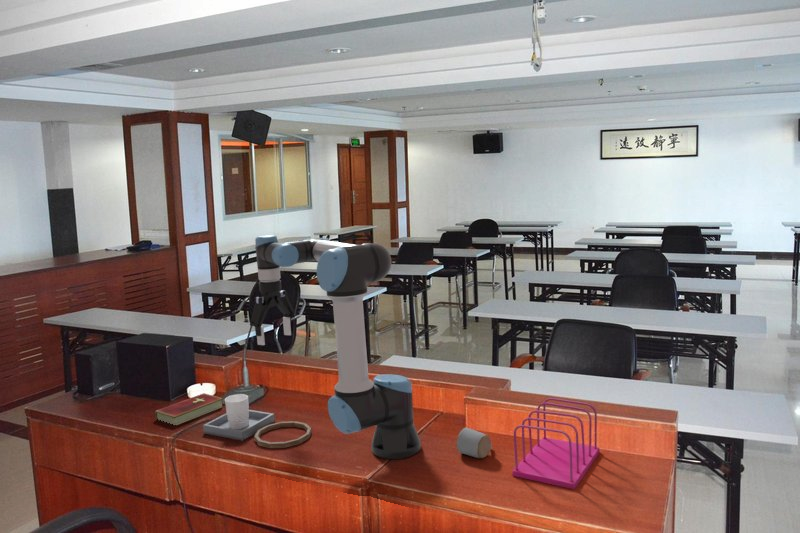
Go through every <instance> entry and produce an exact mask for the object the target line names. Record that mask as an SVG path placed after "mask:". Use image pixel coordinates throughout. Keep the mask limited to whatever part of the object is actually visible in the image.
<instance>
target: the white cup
mask: <svg viewBox="0 0 800 533" xmlns="http://www.w3.org/2000/svg"><path fill="white" fill-rule="evenodd" d="M224 403H225V404H224V405H225V412H226V413H227V418H228V422H229V428H231V429H242V428H245V427H247V426H248V425H249V410H250V409H249V408H250V406H249V395H247V394H243V393H237V394H236V393H235V394H231V395H229V396H227V397H225V398H224Z"/></svg>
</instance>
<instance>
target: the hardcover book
mask: <svg viewBox="0 0 800 533" xmlns="http://www.w3.org/2000/svg"><path fill="white" fill-rule="evenodd" d="M223 399H224V398H222V397H219V396H217V395H216V396H215V395H212V394H208V393H204V392H203V393H200V394H199V395H195V396H193V397H189V398H187V399H185V400H181V401H179V402H175V403H173V404H170V405H168V406H165V407H163V408H159V409H156V410H155V411H154V413H155V420H156V421H160V420H161V421H160V422H163V421H164V422H163V423H166V422H167V423H166V424H169V423H170V424H169V425H172V424H173V426H175V425H176V426H178V425H181V424H184V423H185V422H186V423H187V422H188V421H191V420H193V419H197V418H199V417H201V416H204V415H207V414H209V413H211V412H214V411H216V410H219V409H222V408H223V402H222V401H223ZM157 419H158V420H157Z"/></svg>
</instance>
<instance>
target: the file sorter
mask: <svg viewBox="0 0 800 533" xmlns="http://www.w3.org/2000/svg"><path fill="white" fill-rule="evenodd" d="M548 401H557V402H564V403H570V404H577V405H582V406H587V407H590V408H591V409H592V410H593V412H594V446H593V445H592V415H591V413H590V412H589V411H588V410H587V409H585V408H583V407H576V406H570V405H564V404H559V403H558V404H557V403H552V402H548ZM546 405H547V406H553V407H560V408H565V409H571V410H576V411H583V412H585V413H586V414H587V415H588V420H589V421H588V423H589V425H588V426H589V428H588V430H589V433H588V434H589V435H588V439H589V440H588V444H585V430H584V423H583V420H582V419H581V418H580V417H579V416H577V415H576V414H570V413H563V412H554V411H546ZM541 406H542V408H543V409H542V410H541ZM597 412H598V411H597V410H596V408H595V406H594V405H592V404H590V403H588V402H581V401H576V400H575V401H574V400H569V399H568V400H567V399H563V398H562V399H561V398H553V397H550V398H547V399H546V400H545V401H544V402H541V403H540V404H539V405H538V406H537V410H532V411H530V412H529V414H528V417H526V418H524V419H523V420H522V422H521V424H520V425H517V426H516V427H515V428H514V430H513V444H514V445H513V446H514V463H515V467H514V468H513V470H512V477H517V478H521V479H526V480H529V481H530V480H531V481H535V482H539V483H543V484H544V483H545V484H549V485H554V486H557V487H562V488H565V489H569V490H575V489H576V488H577V486H578V485H579V483H580V482H581V480H582V479H583V477H584V476H585V474H586V473H587V472H588V470H589V469H590V467H591V466H592V464H593V463H594V461H595V460H596V458H597V457H598V455H599V454H600V447H599V446H598V443H597V438H598V437H597V436H598V431H597V430H598V428H597V426H598V424H597V423H598V420H597V419H598V415H597ZM535 413H536V417H532V415H533V414H535ZM540 414H543V418H540ZM546 415H557V416H562V417H570V418H575V419H576V420H578V422H579V423H580V429H581V430H580V431H581V443H579V432H578V429H577V428H576V427H575V425H573V424H572V423H569V422H563V421H557V420H552V419H551V420H550V419H546V417H547V416H546ZM526 421H528V425H526V424H525V423H526ZM532 421H536V426H535V425H534V426H533V425H532V424H531V422H532ZM540 422H543V427H540ZM547 423H551V424H557V425H564V426H569V427H571V428H572V429H573V430H574V432H575V442H573V441H572V438H571V437H570V435H569V434H568V433H567V432H565V431H562V430H559V429H554V428H553V429H552V428H547V425H546V424H547ZM519 428H521V439H522V440H521V442H522V444H521V446H522V459H521V460H520V462H519V463H518V448H517V446H518V444H517V430H518V429H519ZM525 428H526V429H528V437H529V452H528V453H527V454H526V446H525V445H526V444H525V443H526V442H525ZM532 429H533V430H536V431H537V432H536V435H537V443H536V444H535V445H534V446H533V439H532ZM540 431H543V437H541V439H540ZM547 432H551V433H552V432H553V433H559V434H563V435H564V436H566V437H567V440H568V441H567V440H562V439H557V438H556V439H555V438H552V437H547Z"/></svg>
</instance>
